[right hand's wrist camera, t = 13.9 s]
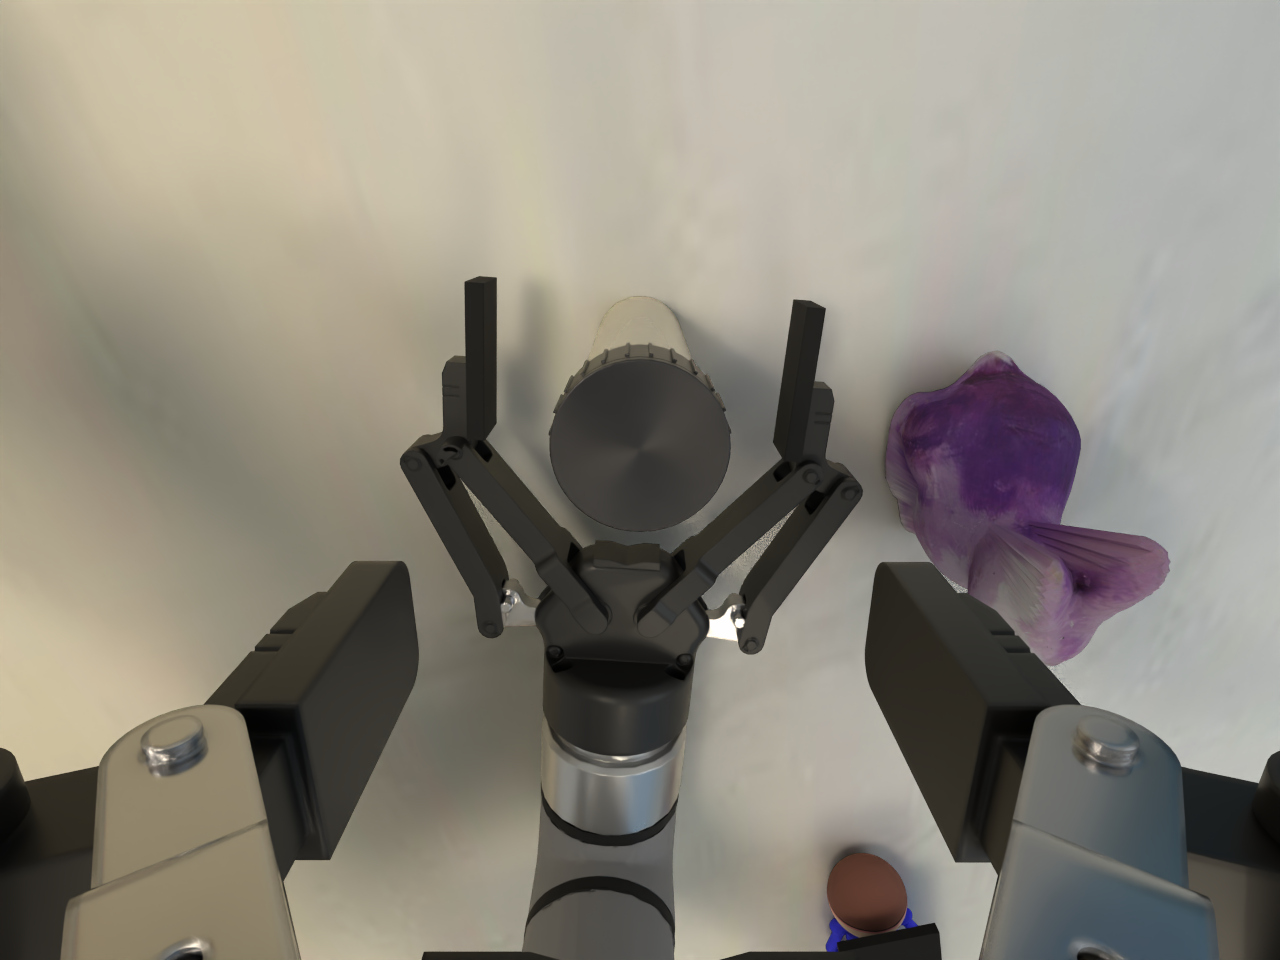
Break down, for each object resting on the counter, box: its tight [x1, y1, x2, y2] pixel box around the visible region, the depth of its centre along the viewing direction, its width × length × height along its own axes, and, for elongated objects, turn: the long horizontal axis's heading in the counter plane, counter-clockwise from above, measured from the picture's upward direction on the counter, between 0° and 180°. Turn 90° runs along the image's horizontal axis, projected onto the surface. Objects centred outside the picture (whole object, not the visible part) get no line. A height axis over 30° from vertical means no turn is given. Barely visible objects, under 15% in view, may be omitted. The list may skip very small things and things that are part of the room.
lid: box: [549, 342, 731, 532], centre depth 20 cm, size 5×5×2 cm
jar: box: [588, 296, 692, 361], centre depth 28 cm, size 4×4×18 cm
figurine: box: [885, 351, 1170, 666], centre depth 32 cm, size 9×10×15 cm
